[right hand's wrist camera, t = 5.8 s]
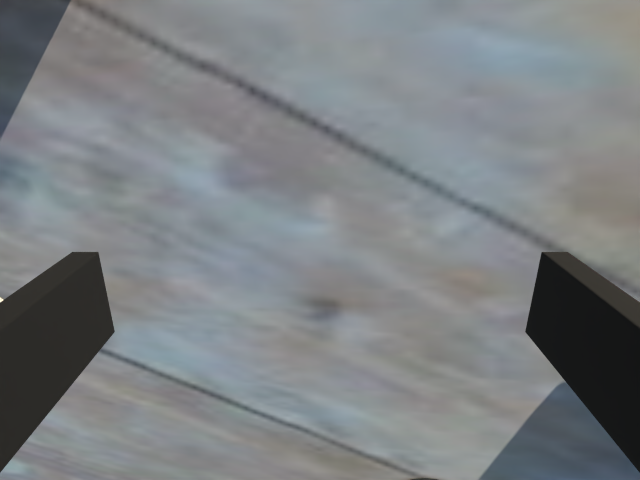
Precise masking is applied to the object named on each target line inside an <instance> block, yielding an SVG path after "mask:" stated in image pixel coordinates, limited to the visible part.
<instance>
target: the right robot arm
mask: <svg viewBox="0 0 640 480" xmlns="http://www.w3.org/2000/svg"><path fill="white" fill-rule="evenodd" d="M114 332H115V331H114V326H113V322H112V317H111V312H110V307H109V302H108V297H107V292H106V288H105V283H104V278H103V273H102V268H101V263H100V258H99V253H98V252H72V253H70V254H69V255H67V256H66V257H65V258H63V259H62V260H60V261H59V262H57V263H56V264H55V265H53V266H52V267H50V268H49V269H47V270H46V271H45V272H43V273H42V274H40V275H39V276H37V277H36V278H35V279H33V280H32V281H30V282H29V283H27V284H26V285H25V286H23V287H22V288H20V289H19V290H17V291H16V292H15V293H13V294H12V295H10V296H9V297H7V298H6V299H4V300H3V301H2V302H0V472H1V471H2V470H3V468H4V467H5V466H6V465H7V464H8V462H9V461H10V460H11V459H12V457H13V456H14V455H15V454H16V452H17V451H18V450H19V449H20V448H21V446H22V445H23V444H24V443H25V441H26V440H27V439H28V438H29V436H30V435H31V434H32V433H33V432H34V430H35V429H36V428H37V427H38V425H39V424H40V423H41V422H42V420H43V419H44V418H45V417H46V416H47V414H48V413H49V412H50V411H51V409H52V408H53V407H54V406H55V404H56V403H57V402H58V401H59V400H60V398H61V397H62V396H63V395H64V393H65V392H66V391H67V390H68V388H69V387H70V386H71V385H72V384H73V382H74V381H75V380H76V379H77V377H78V376H79V375H80V374H81V372H82V371H83V370H84V369H85V368H86V366H87V365H88V364H89V363H90V361H91V360H92V359H93V358H94V356H95V355H96V354H97V353H98V352H99V350H100V349H101V348H102V347H103V345H104V344H105V343H106V342H107V341H108V339H109V338H110V337H111V336H112V334H113V333H114ZM525 332H526V333H527V334H528V336H529V337H530V338H531V339H532V341H533V342H534V343H535V344H536V345H537V347H538V348H539V349H540V350H541V352H542V353H543V354H544V355H545V356H546V358H547V359H548V360H549V361H550V363H551V364H552V365H553V366H554V368H555V369H556V370H557V371H558V372H559V374H560V375H561V376H562V377H563V379H564V380H565V381H566V382H567V384H568V385H569V386H570V387H571V388H572V390H573V391H574V392H575V393H576V395H577V396H578V397H579V398H580V400H581V401H582V402H583V403H584V404H585V406H586V407H587V408H588V409H589V411H590V412H591V413H592V414H593V416H594V417H595V418H596V419H597V420H598V422H599V423H600V424H601V425H602V427H603V428H604V429H605V430H606V432H607V433H608V434H609V435H610V436H611V438H612V439H613V440H614V441H615V443H616V444H617V445H618V446H619V448H620V449H621V450H622V451H623V452H624V454H625V455H626V456H627V457H628V459H629V460H630V461H631V462H632V464H633V465H634V466H635V467H636V468H637V470H638V471H639V472H640V302H638V301H637V300H636V299H634V298H633V297H631V296H630V295H628V294H627V293H625V292H624V291H623V290H621V289H620V288H618V287H617V286H615V285H614V284H613V283H611V282H610V281H608V280H607V279H605V278H604V277H603V276H601V275H600V274H598V273H597V272H595V271H594V270H593V269H591V268H590V267H588V266H587V265H585V264H584V263H583V262H581V261H580V260H578V259H577V258H575V257H574V256H573V255H571V254H570V253H568V252H542V253H541V258H540V263H539V268H538V273H537V278H536V283H535V288H534V292H533V297H532V302H531V307H530V312H529V317H528V322H527V326H526V331H525ZM412 480H437V479H412Z"/></svg>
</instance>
